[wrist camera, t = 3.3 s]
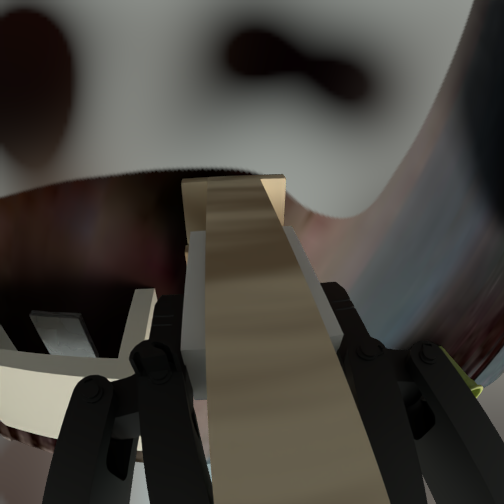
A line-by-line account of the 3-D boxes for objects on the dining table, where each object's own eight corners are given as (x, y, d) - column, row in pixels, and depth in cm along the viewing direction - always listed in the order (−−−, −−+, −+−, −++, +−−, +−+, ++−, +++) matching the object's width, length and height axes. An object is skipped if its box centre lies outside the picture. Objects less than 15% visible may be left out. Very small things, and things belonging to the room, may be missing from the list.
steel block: (54, 346, 24) (51, 355, 23) (34, 306, 21) (29, 315, 20) (100, 351, 25) (97, 360, 24) (82, 309, 22) (78, 319, 21)
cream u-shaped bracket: (24, 370, 25) (5, 425, 19) (-26, 292, 19) (-62, 350, 12) (180, 380, 27) (179, 452, 21) (154, 288, 21) (138, 379, 14)
